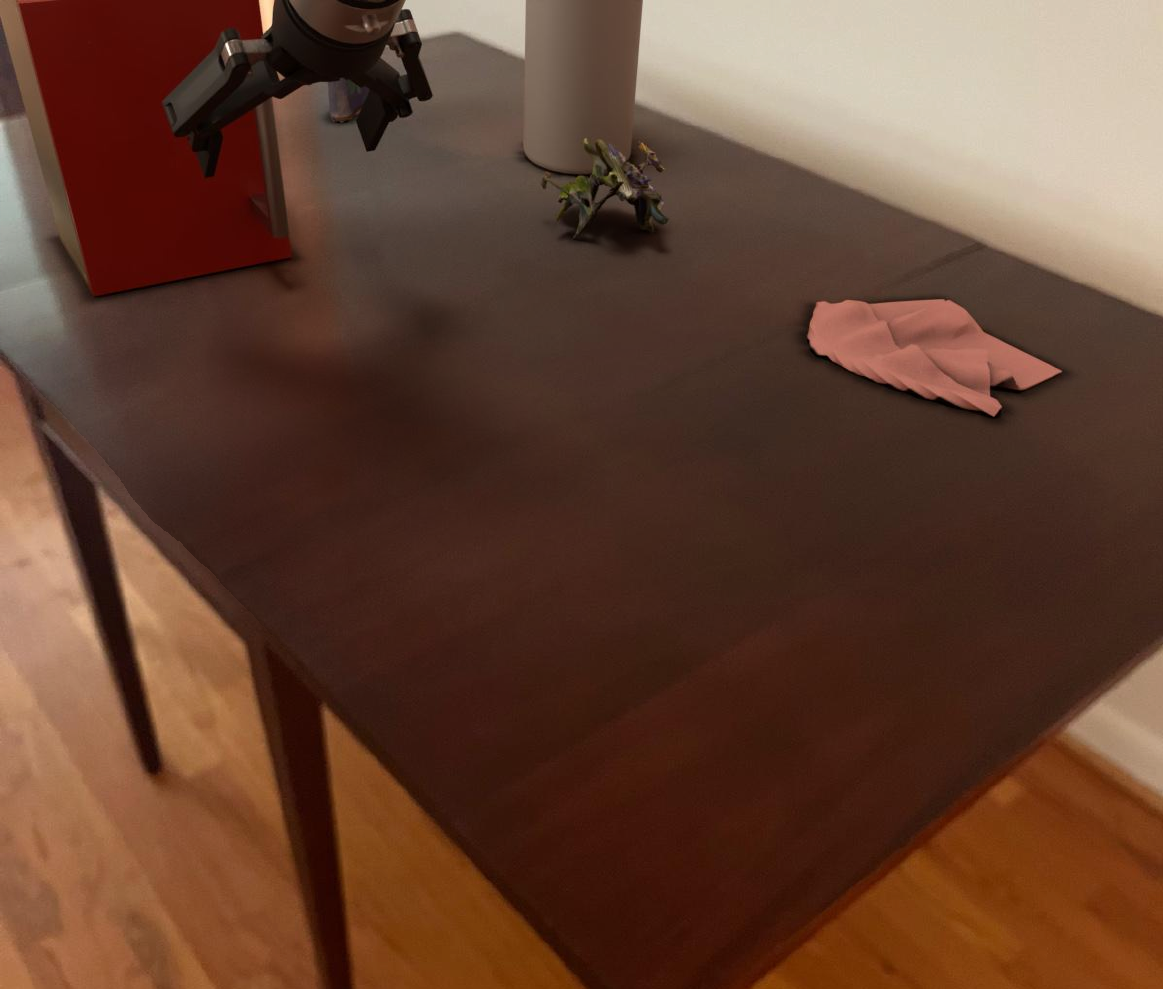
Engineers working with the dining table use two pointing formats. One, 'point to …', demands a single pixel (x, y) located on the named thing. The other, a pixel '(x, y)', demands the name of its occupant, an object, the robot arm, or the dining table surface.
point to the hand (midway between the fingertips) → (286, 148)
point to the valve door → (152, 141)
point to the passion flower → (613, 186)
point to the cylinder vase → (579, 79)
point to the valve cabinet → (40, 130)
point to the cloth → (923, 350)
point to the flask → (345, 99)
